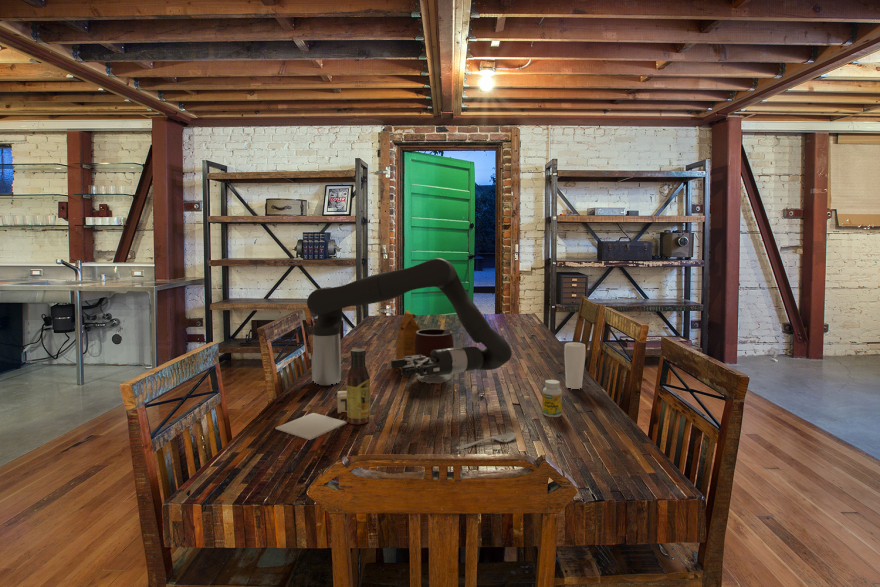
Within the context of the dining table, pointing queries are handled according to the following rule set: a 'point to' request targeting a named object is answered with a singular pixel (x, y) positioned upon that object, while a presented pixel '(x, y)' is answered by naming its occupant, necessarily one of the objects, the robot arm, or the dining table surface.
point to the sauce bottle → (358, 389)
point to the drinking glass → (574, 364)
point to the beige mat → (311, 426)
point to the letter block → (342, 401)
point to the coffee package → (406, 336)
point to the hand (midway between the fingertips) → (396, 367)
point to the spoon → (505, 436)
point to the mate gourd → (433, 348)
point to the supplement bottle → (552, 399)
